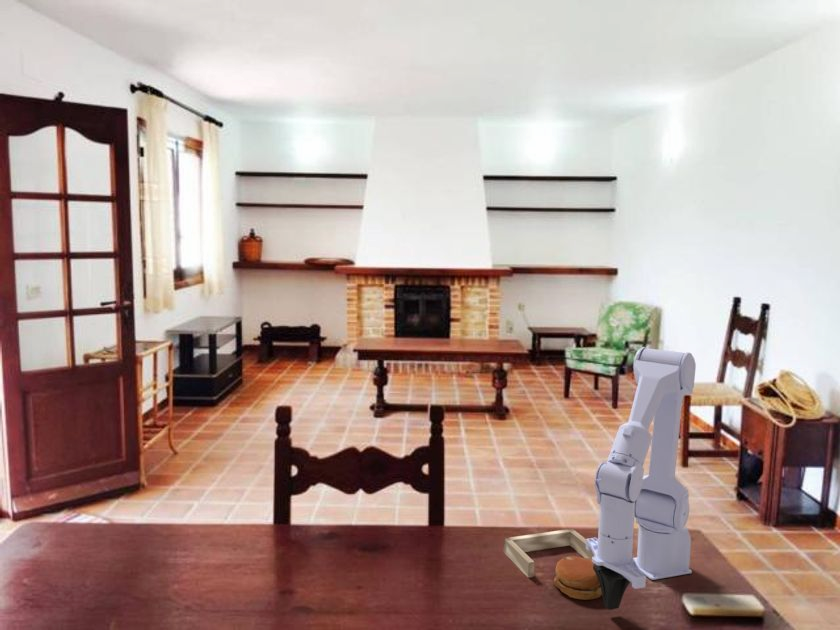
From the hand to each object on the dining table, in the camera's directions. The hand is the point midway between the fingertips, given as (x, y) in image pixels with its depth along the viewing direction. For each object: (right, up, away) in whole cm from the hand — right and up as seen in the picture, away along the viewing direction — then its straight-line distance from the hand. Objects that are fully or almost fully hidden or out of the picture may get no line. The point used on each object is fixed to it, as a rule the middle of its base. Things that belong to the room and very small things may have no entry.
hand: (611, 606), depth 116 cm
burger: (-3, -1, +9) cm, 10 cm away
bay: (-6, +1, +19) cm, 20 cm away
